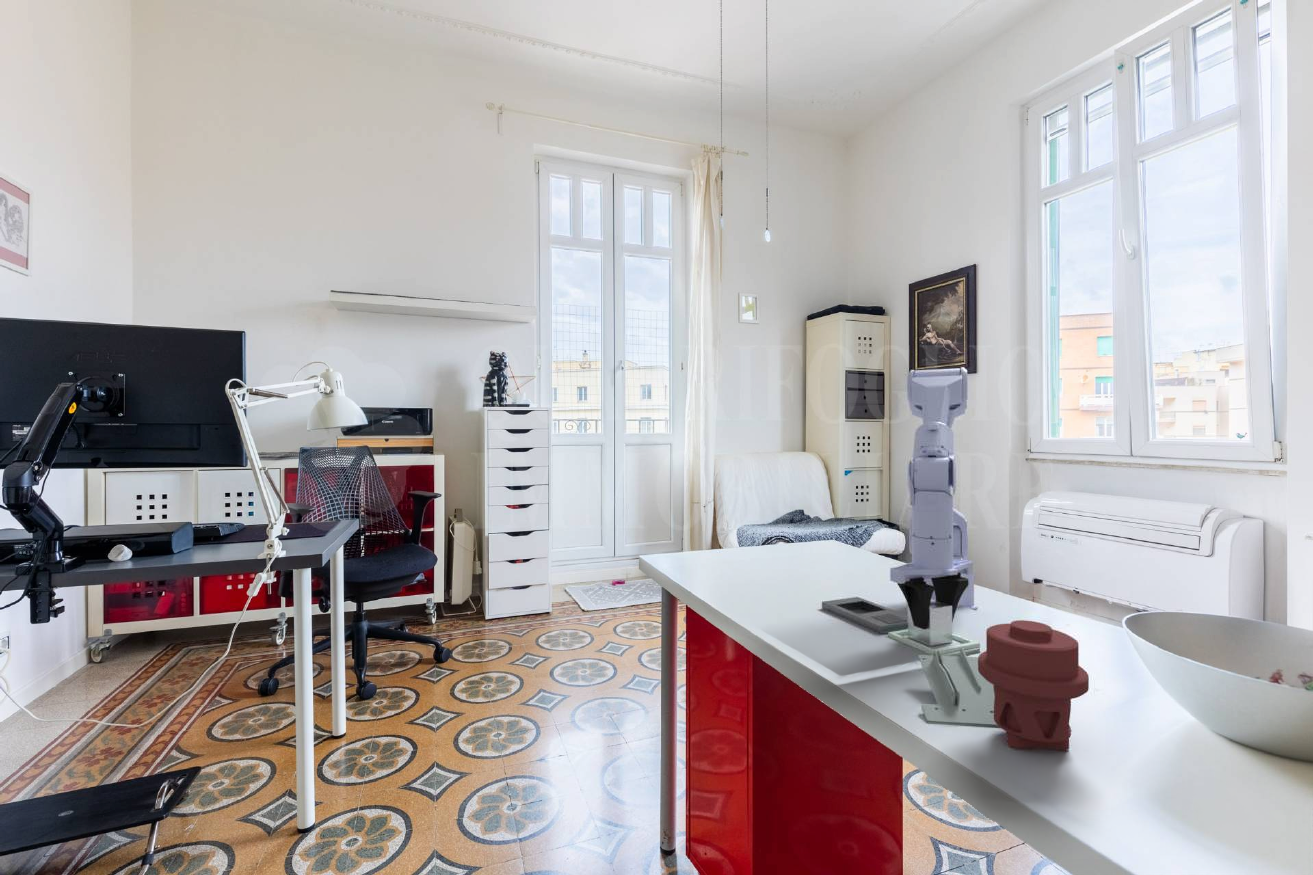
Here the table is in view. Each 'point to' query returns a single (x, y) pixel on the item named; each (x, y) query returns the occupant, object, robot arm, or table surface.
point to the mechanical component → (1033, 682)
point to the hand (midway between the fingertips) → (932, 625)
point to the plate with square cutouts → (867, 614)
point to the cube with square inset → (933, 625)
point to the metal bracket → (958, 691)
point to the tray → (967, 645)
